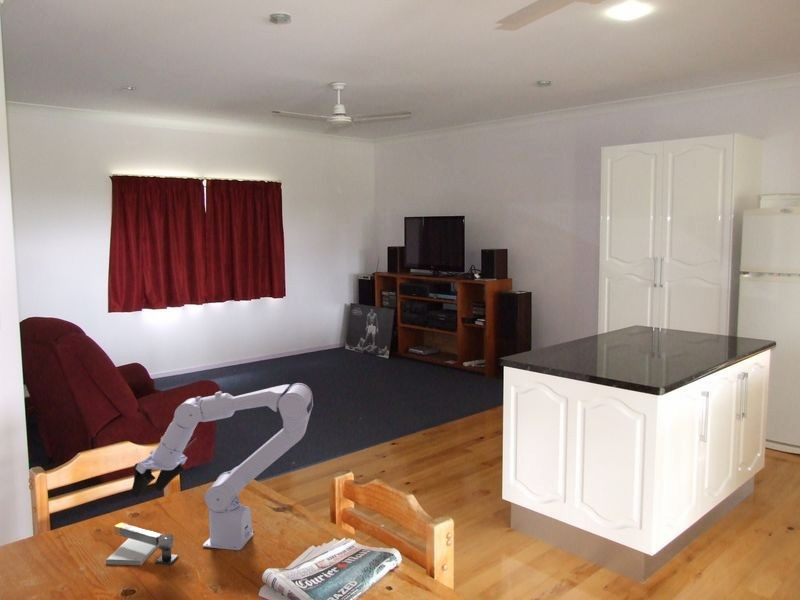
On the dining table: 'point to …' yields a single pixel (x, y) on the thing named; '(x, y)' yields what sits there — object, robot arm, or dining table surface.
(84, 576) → the dining table surface
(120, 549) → the hard drive
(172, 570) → the dining table surface
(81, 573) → the dining table surface
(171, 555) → the grey small stand
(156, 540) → the grey long bar
